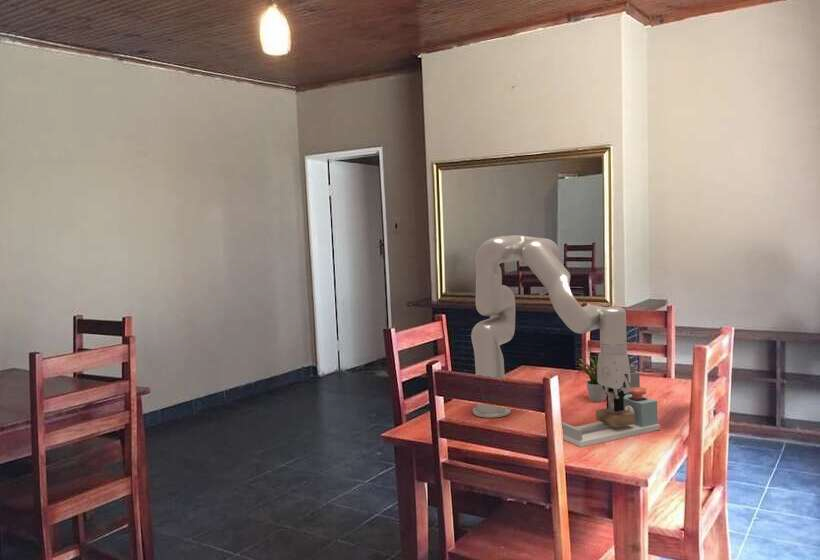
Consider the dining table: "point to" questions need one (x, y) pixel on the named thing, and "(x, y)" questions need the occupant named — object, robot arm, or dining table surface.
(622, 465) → the dining table surface
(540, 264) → the robot arm
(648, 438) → the dining table surface
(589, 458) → the dining table surface
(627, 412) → the carriage
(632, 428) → the rail bed
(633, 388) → the button
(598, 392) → the house plant
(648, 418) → the end cabinet
